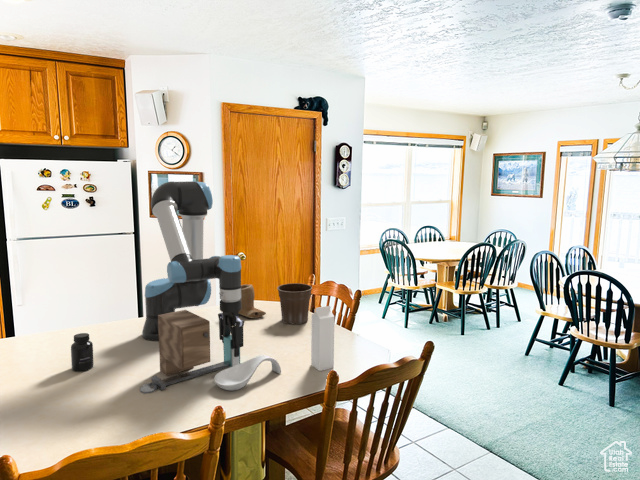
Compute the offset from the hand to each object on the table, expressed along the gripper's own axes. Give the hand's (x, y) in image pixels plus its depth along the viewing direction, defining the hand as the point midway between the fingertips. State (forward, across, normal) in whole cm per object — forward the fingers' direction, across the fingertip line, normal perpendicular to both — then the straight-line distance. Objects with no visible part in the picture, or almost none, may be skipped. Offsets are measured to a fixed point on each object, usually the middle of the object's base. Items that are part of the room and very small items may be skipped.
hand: (231, 362), depth 166 cm
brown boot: (+1, -45, +38) cm, 58 cm away
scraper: (0, 0, -13) cm, 13 cm away
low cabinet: (+1, -2, -17) cm, 17 cm away
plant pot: (+1, -24, +49) cm, 55 cm away
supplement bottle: (+1, -31, -41) cm, 51 cm away
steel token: (+1, 0, -30) cm, 30 cm away
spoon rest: (+1, +15, -3) cm, 16 cm away
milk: (+1, +23, +23) cm, 33 cm away
